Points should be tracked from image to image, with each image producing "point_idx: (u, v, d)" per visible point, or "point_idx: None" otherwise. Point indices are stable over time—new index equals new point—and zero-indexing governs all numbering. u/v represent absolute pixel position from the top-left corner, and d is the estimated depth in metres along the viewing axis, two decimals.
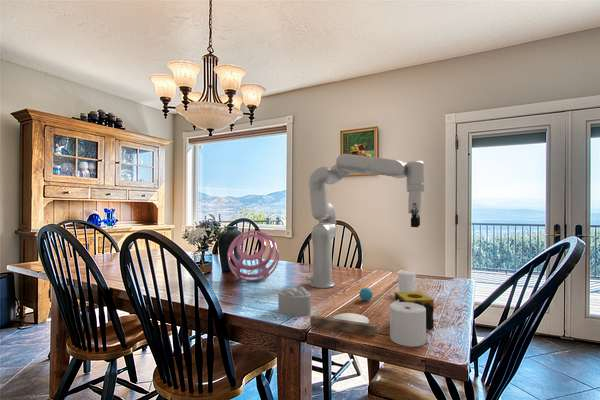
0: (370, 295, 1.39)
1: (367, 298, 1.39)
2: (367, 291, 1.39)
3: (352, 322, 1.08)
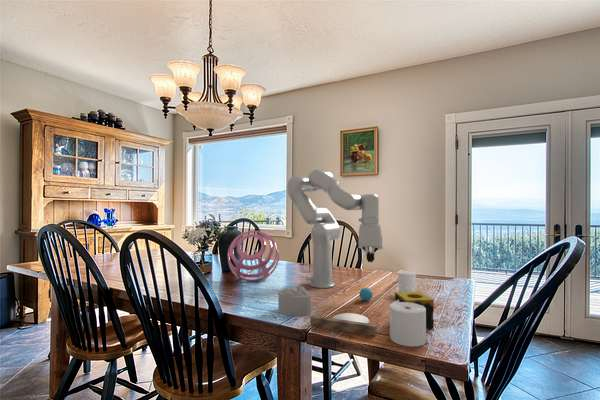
0: (370, 295, 1.39)
1: (367, 298, 1.39)
2: (367, 291, 1.39)
3: (352, 322, 1.08)
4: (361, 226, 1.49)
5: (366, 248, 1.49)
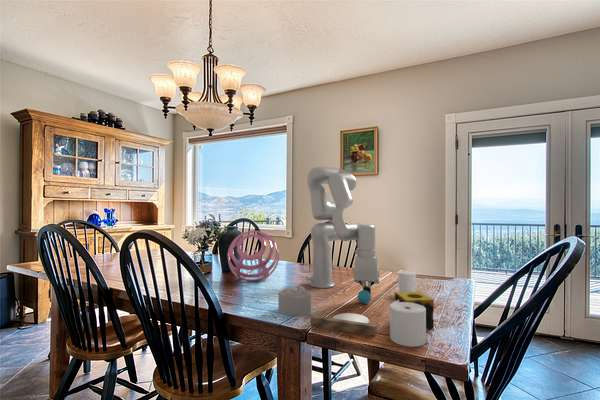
0: None
1: None
2: (365, 301, 1.35)
3: (352, 322, 1.08)
4: (357, 259, 1.41)
5: (363, 282, 1.41)
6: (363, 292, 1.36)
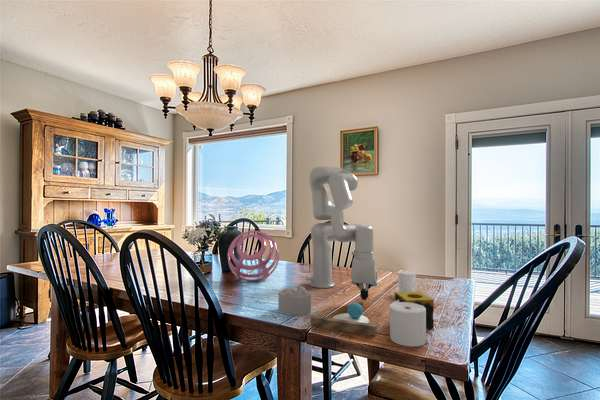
0: None
1: None
2: (356, 317, 1.18)
3: (352, 322, 1.08)
4: (354, 261, 1.38)
5: (360, 284, 1.38)
6: (353, 308, 1.18)
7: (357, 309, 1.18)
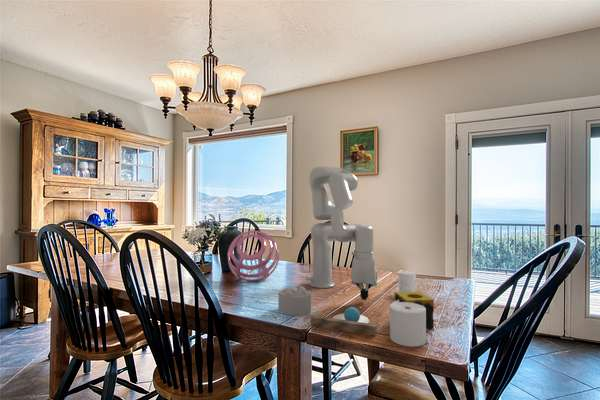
0: None
1: None
2: None
3: (352, 322, 1.08)
4: (354, 261, 1.38)
5: (360, 284, 1.38)
6: None
7: None
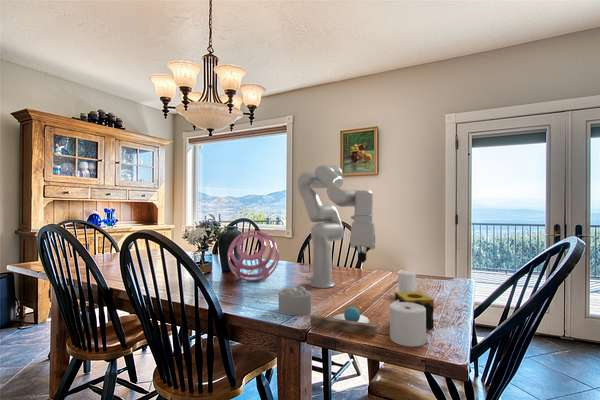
0: None
1: None
2: None
3: (352, 322, 1.08)
4: (353, 224, 1.40)
5: (358, 247, 1.41)
6: None
7: None
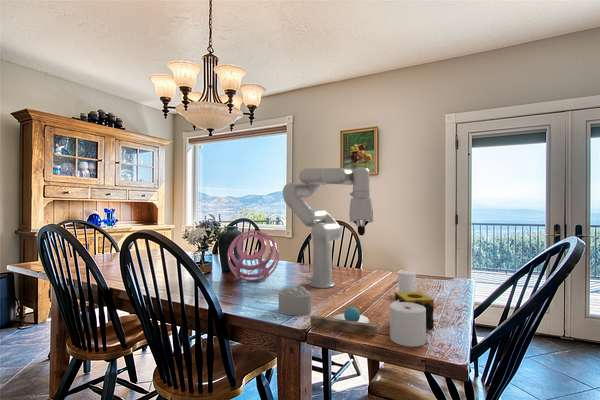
0: None
1: None
2: None
3: (352, 322, 1.08)
4: (352, 200, 1.50)
5: (357, 221, 1.50)
6: None
7: None
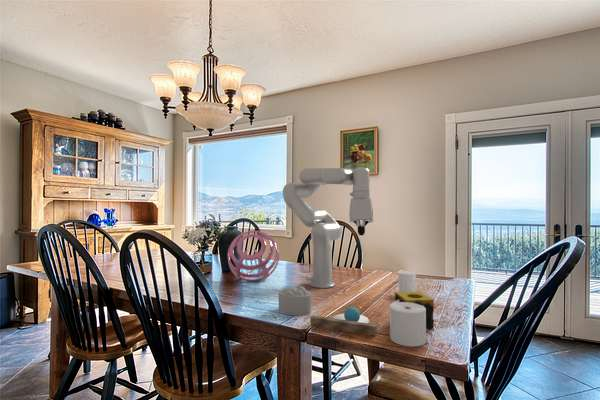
0: None
1: None
2: None
3: (352, 322, 1.08)
4: (352, 200, 1.50)
5: (357, 221, 1.50)
6: None
7: None
